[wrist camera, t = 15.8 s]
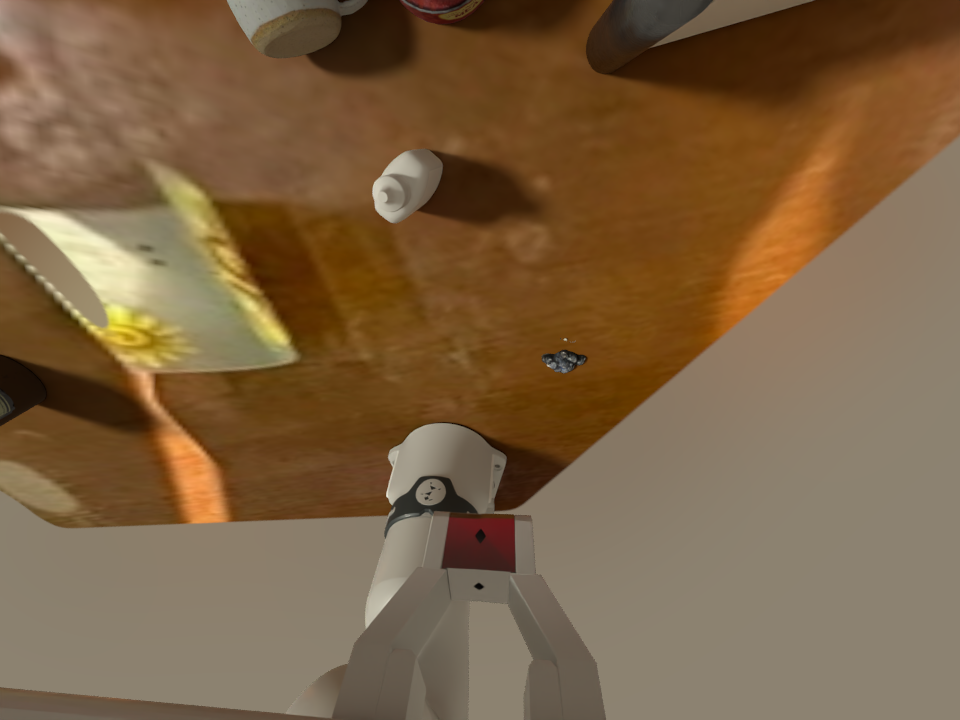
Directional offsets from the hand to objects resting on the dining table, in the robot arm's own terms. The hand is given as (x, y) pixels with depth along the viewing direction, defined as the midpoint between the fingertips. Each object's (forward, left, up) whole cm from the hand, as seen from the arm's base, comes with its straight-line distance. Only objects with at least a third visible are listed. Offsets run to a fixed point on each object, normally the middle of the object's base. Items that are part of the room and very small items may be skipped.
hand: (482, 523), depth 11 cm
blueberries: (-13, -9, -32) cm, 35 cm away
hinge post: (+16, -9, -31) cm, 36 cm away
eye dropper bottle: (+7, +8, -31) cm, 33 cm away
